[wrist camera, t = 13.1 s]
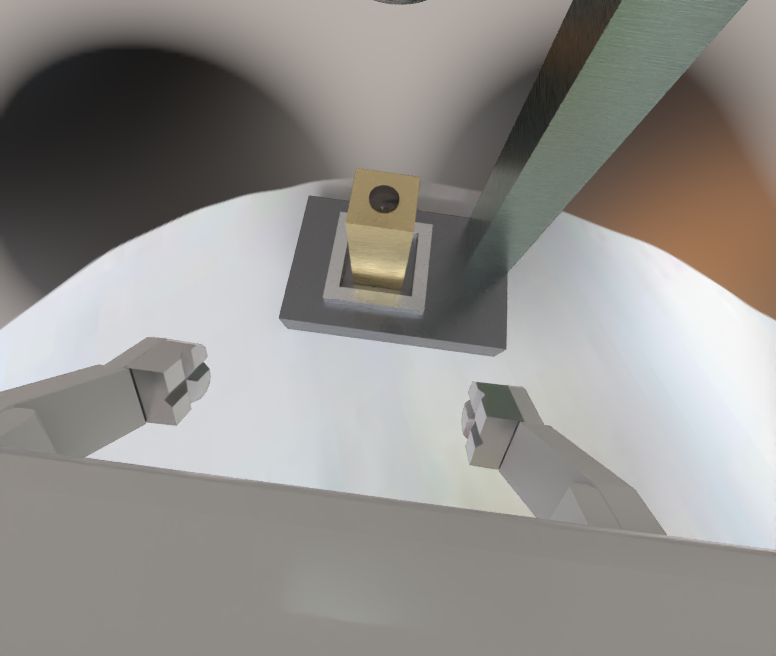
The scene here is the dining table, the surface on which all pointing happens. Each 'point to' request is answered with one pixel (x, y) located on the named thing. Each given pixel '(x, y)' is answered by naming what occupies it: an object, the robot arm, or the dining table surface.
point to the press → (507, 183)
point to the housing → (381, 226)
